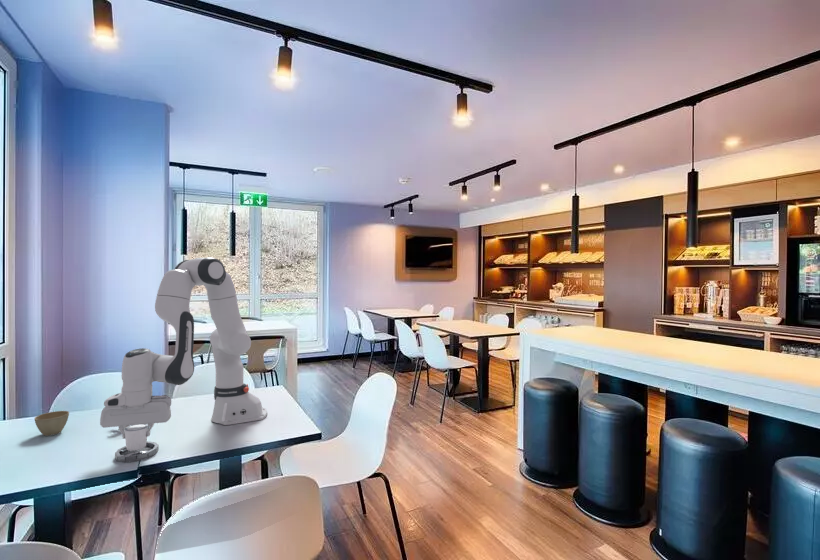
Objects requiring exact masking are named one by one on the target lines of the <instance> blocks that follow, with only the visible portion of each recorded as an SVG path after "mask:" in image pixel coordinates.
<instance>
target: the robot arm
mask: <svg viewBox="0 0 820 560" xmlns="http://www.w3.org/2000/svg"><path fill="white" fill-rule="evenodd" d="M196 286H199V287H200V286H204V288H205V289H206V295H207V301H208V305H209V306H208V307H209V312H210V313H209V314H210V317H211V320H212V321H213V324H214V326H215V329H213V331H212V333H211V334H210V335H209V342H210V345H211V348H212V355H213V360H214V366H215V386H214V389H213V399H214V406H213V411H212V415H211V418H210V421H211V422H213V423H216V424H221V425H223V426H229V425H236V424H243V423H248V422H254V421H262V420H264V419H265V418H267V415H268V410H267V408H265V407H262V402H261V399H260V398H259V397H258V396H255V395H254V394H252V393H251V392H249V391H250V388H249V384H248V383H247V384H246V383H244V364H243V362H242V359H241V355H242V356H243V355H244V354H247V352H248V351H249V350H250V349H251V346H252V340H251V337H250V336H249V335H248V332H247V330H246V327H245V324H244V321H243V319H242V317H241V313H240V309H239V304H238V299H237V292H236V287H235V285H234V281H233V279H232V276H231V275H230V274H229V272H227V271H226V268H225V265H224V264H223V262H221V260H220V259H218V258H215V257H210V256H209V257H196V258H195V257H194V258H192V259H185V260H183V261H180V262H179V263H178V264H177V265H175V268H174V269H169V270H167V271H166V272H165V273H164V275H163V277H162V279H161V281H160V283H159V286H158V289H157V293H156V296H155V297H156V298H155V303H154V312H155V313H156V315H157V317H159V318H160V320H162V321H164V322H166V323H167V324H169V325H170V326H172V327H173V329H174V331H175V350H174V355H170V354H169V355H168V354H162V353H156V352H153V351H152V350H151V349H150V348H146V347H145V348H144V347H143V348H137V349H136V348H135V349H132V350H130V351H127V352H126V353H125V355H124V356H123V359H122V363H121V380H122V386H121V391H120V392H119V393H115V394H112V395H111V396H109V397H107V398H106V399H105V400H104V402H103V406H104V407H103V409H102V410H101V412H100V413H101V414H100V419H99V425H100V426H101V427H102V428H115V427H118V430H119V432H120V433H121V435H122V439H124V440H125V427H126V426H129V425H130V426H131V425H141V424H148V430H147V432H146V437H147V438H148V437H150V436H151V431H152V428H153V427H154V426H155V424H161V423H162V424H163V423H167V422H168V421H170V419H171V417H172V410H171V405H172V398H171V397H170V396H169V395H166V394H163V395H153V383H154V382H157V383H164V384H165V383H167V384H171V385H176V386H182V385H183V384H185V383H187V382H188V381H189V380H190V379H191V378H192V377H193V375H194V371H195V363H194V362H195V361H194V342H195V341H194V338H195V320H194V316H193V314H192V313H191V311H190V310H191V309H190V301H191V296H192V291H193V288H195V287H196Z"/></svg>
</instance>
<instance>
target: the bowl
mask: <svg viewBox="0 0 820 560" xmlns="http://www.w3.org/2000/svg"><path fill="white" fill-rule="evenodd" d="M159 447H160V446H159V444H158V443H157V442H156V441H147V442H146V446H145V447H144V448H142V449H139V450H134V451H128V450H127V449H126V445H124V446H122V447H121V448H119V449H117V450H116V452H114V459H115V461H116V462H117V463H118V462H119V463H134V462H139V461H142V460H146V459H149V458H151V457H153V456H154V455H156V454H157V453H158V452H159Z"/></svg>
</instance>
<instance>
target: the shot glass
mask: <svg viewBox="0 0 820 560" xmlns="http://www.w3.org/2000/svg"><path fill="white" fill-rule="evenodd" d="M148 429H149V427H148V424H141V425H130V426H128V427H126V428H125V439H124V440H125V446H126V449H127V450H128V451H134V450H139V449H142V448H144V447H145V446H146V442H148V441H147V440H148V436H147V437H146V432H147V430H148Z"/></svg>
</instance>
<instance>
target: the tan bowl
mask: <svg viewBox="0 0 820 560" xmlns="http://www.w3.org/2000/svg"><path fill="white" fill-rule="evenodd" d="M69 416H70V412H69V411H67V410H56V411H50V412H45V413H42V414H39V415H36V416H35V417H34V423H35V425H36V428H37V429H38V431H39V432H40V434H41V435H43V436H44V437H50V436H54V435H58V434H60V433H61V432H62V431H63V429H64V428H65V426H66V424H67V421H69Z"/></svg>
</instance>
